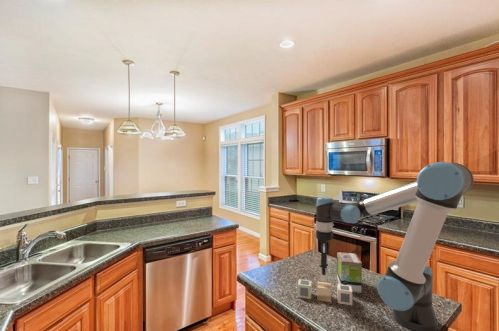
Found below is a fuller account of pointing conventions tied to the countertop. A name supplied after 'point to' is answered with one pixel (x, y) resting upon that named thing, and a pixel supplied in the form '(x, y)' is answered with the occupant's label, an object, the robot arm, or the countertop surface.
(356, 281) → the tea box
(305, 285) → the labelled block
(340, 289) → the labelled block
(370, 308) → the countertop surface
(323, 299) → the plain block
